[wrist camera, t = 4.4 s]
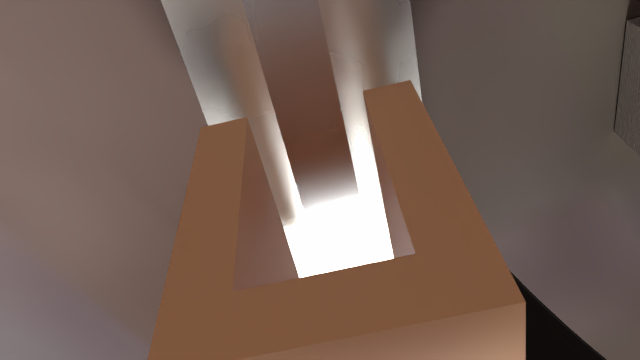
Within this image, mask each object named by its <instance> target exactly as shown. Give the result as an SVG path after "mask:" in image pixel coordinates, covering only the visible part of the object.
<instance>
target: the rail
mask: <svg viewBox="0 0 640 360" xmlns="http://www.w3.org/2000/svg"><path fill="white" fill-rule="evenodd" d="M161 2H162V4H163V7H164V10H165V12H166V15H167V18H168V20H169V23H170V26H171V28H172V31H173V34H174V36H175V39H176V42H177V44H178V47H179V50H180V52H181V55H182V57H183V60H184V63H185V65H186V68H187V71H188V73H189V76H190V79H191V81H192V84H193V87H194V89H195V92H196V95H197V97H198V100H199V103H200V105H201V108H202V111H203V113H204V116H205V118H206V121H207V124H208V126H209V125H214V124H218V123H223V122H227V121H231V120H236V119H240V118H245V117H248V121H249V124H250V127H251V130H252V133H253V136H254V139H255V142H256V145H257V148H258V151H259V154H260V157H261V160H262V163H263V167H264V170H265V173H266V176H267V179H268V182H269V185H270V188H271V191H272V194H273V197H274V200H275V203H276V206H277V209H278V212H279V216H280V219H281V222H282V225H283V228H284V231H285V234H286V237H287V240H288V243H289V246H290V249H291V252H292V255H293V258H294V262H295V265H296V268H297V271H298V274H299V277H305V276H310V275H315V274H319V273H324V272H329V271H334V270H339V269H343V268H348V267H353V266H358V265H363V264H368V263H372V262H377V261H382V260H387V259H392V258H393V254H392V249H391V243H390V238H389V232H388V227H387V221H386V216H385V211H384V205H383V200H382V194H381V189H380V183H379V178H378V173H377V167H376V162H375V156H374V151H373V145H372V140H371V135H370V129H369V124H368V118H367V113H366V107H365V102H364V97H363V91H364V90H368V89H373V88H377V87H381V86H386V85H390V84H395V83H399V82H403V81H408V80H411V82H412V84H413V86H414V88H415V90H416V92H417V94H418V96H419V97H420V99H421V101H422V98H421V89H420V81H419V72H418V64H417V55H416V47H415V38H414V30H413V21H412V13H411V4H410V0H161Z"/></svg>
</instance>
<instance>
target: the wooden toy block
mask: <svg viewBox="0 0 640 360" xmlns="http://www.w3.org/2000/svg"><path fill="white" fill-rule="evenodd" d="M614 132H615V133H616V134H617V135H618V136H619V137H620V138H621V139H622V140H623V141H624V142H626V143H627V144H628V145H629V146H630V147H631V148H632V149H633V150H634V151H635V152H636V153H637V154H638V155H639V156H640V17H638V18H634V19H629V20H627V23H626V32H625V41H624V50H623V59H622V68H621V77H620V86H619V95H618V104H617V113H616V122H615V131H614Z"/></svg>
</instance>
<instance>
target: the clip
mask: <svg viewBox="0 0 640 360" xmlns="http://www.w3.org/2000/svg"><path fill="white" fill-rule="evenodd" d="M363 97H364V102H365V107H366V113H367V118H368V124H369V129H370V135H371V140H372V145H373V151H374V156H375V162H376V167H377V173H378V178H379V183H380V189H381V194H382V200H383V205H384V211H385V216H386V221H387V227H388V232H389V238H390V243H391V249H392V254H393V258H392V259H387V260H382V261H377V262H372V263H368V264H363V265H358V266H353V267H348V268H343V269H339V270H334V271H329V272H324V273H319V274H315V275H310V276H305V277H299V274H298V271H297V268H296V265H295V262H294V258H293V255H292V252H291V249H290V246H289V243H288V240H287V237H286V234H285V231H284V228H283V225H282V222H281V219H280V216H279V212H278V209H277V206H276V203H275V200H274V197H273V194H272V191H271V188H270V185H269V182H268V179H267V176H266V173H265V170H264V167H263V163H262V160H261V157H260V154H259V151H258V148H257V145H256V142H255V139H254V136H253V133H252V130H251V127H250V124H249V121H248V117H245V118H240V119H236V120H231V121H227V122H223V123H218V124H214V125H209V126H205V127H201V130H200V134H199V138H198V143H197V147H196V151H195V156H194V160H193V165H192V169H191V173H190V178H189V182H188V186H187V191H186V195H185V199H184V204H183V208H182V212H181V217H180V221H179V225H178V230H177V234H176V238H175V243H174V247H173V251H172V256H171V260H170V264H169V269H168V273H167V278H166V282H165V286H164V291H163V295H162V299H161V304H160V308H159V312H158V317H157V321H156V325H155V330H154V334H153V338H152V343H151V347H150V351H149V356H148V360H526V301H525V299H524V298H523V296H522V294H521V292H520V290H519V288H518V286H517V284H516V282H515V280H514V278H513V276H512V274H511V273H510V271H509V269H508V267H507V265H506V263H505V261H504V259H503V257H502V255H501V253H500V251H499V249H498V248H497V246H496V244H495V242H494V240H493V238H492V236H491V234H490V232H489V230H488V228H487V226H486V224H485V223H484V221H483V219H482V217H481V215H480V213H479V211H478V209H477V207H476V205H475V203H474V201H473V199H472V197H471V196H470V194H469V192H468V190H467V188H466V186H465V184H464V182H463V180H462V178H461V176H460V174H459V172H458V171H457V169H456V167H455V165H454V163H453V161H452V159H451V157H450V155H449V153H448V151H447V149H446V147H445V146H444V144H443V142H442V140H441V138H440V136H439V134H438V132H437V130H436V128H435V126H434V124H433V122H432V121H431V119H430V117H429V115H428V113H427V111H426V109H425V107H424V105H423V103H422V101H421V99H420V97H419V96H418V94H417V92H416V90H415V88H414V86H413V84H412V82H411V80H408V81H403V82H399V83H395V84H390V85H386V86H381V87H377V88H373V89H368V90H364V91H363Z"/></svg>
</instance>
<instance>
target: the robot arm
mask: <svg viewBox="0 0 640 360" xmlns="http://www.w3.org/2000/svg"><path fill="white" fill-rule="evenodd" d="M509 271H510V270H509ZM510 273H511V274H512V272H511V271H510ZM512 276H513V278H514V280H515V282H516V284H517V286H518V288H519V290H520V292H521V294H522V296H523V298H524V299H525V301H526V360H606V359H605V358H604V357H603V356H601V355H600V354H599V353H598V352H597V351H595V350H594V349H593V348H592V347H591V346H589V345H588V344H587V343H586V342H585V341H584V340H582V339H581V338H580V337H579V336H578V335H577V334H576V333H574V332H573V331H572V330H571V329H570V328H569V327H568V326H567V325H565V324H564V323H563V322H562V321H561V320H560V319H559V318H558V317H557V316H556V315H555V314H554V313H552V312H551V311H550V310H549V309H548V308H547V307H546V306H545V305H544V304H543V303H542V302H541V301H540V300H538V299H537V298H536V297H535V296H534V295H533V294H532V293H531V292H530V291H529V290H528V289H527V288H526V287H525V286H524V285H523V284H522V283H521V282H520V281H519V280H518V279H517V278H516V277H515V276H514V275H513V274H512Z"/></svg>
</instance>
